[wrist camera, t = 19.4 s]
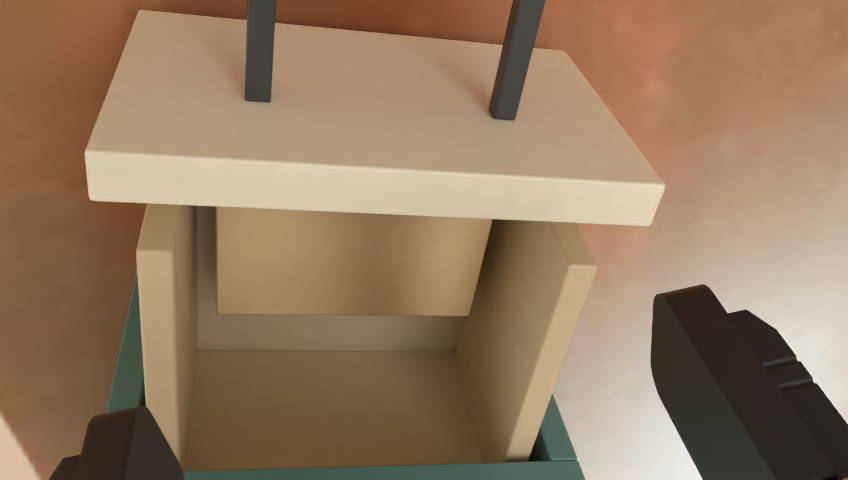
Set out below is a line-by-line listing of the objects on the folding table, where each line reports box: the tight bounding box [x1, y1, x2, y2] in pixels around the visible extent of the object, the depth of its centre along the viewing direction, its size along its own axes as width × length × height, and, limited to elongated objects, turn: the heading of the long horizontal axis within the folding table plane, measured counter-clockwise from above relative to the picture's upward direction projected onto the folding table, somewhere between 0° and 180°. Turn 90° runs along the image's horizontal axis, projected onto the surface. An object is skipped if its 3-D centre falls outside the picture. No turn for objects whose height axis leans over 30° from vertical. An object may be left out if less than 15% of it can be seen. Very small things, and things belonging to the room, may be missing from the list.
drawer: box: [84, 0, 665, 471], centre depth 22 cm, size 18×13×8 cm
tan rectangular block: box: [215, 206, 493, 316], centre depth 24 cm, size 8×5×2 cm, turn 81°
